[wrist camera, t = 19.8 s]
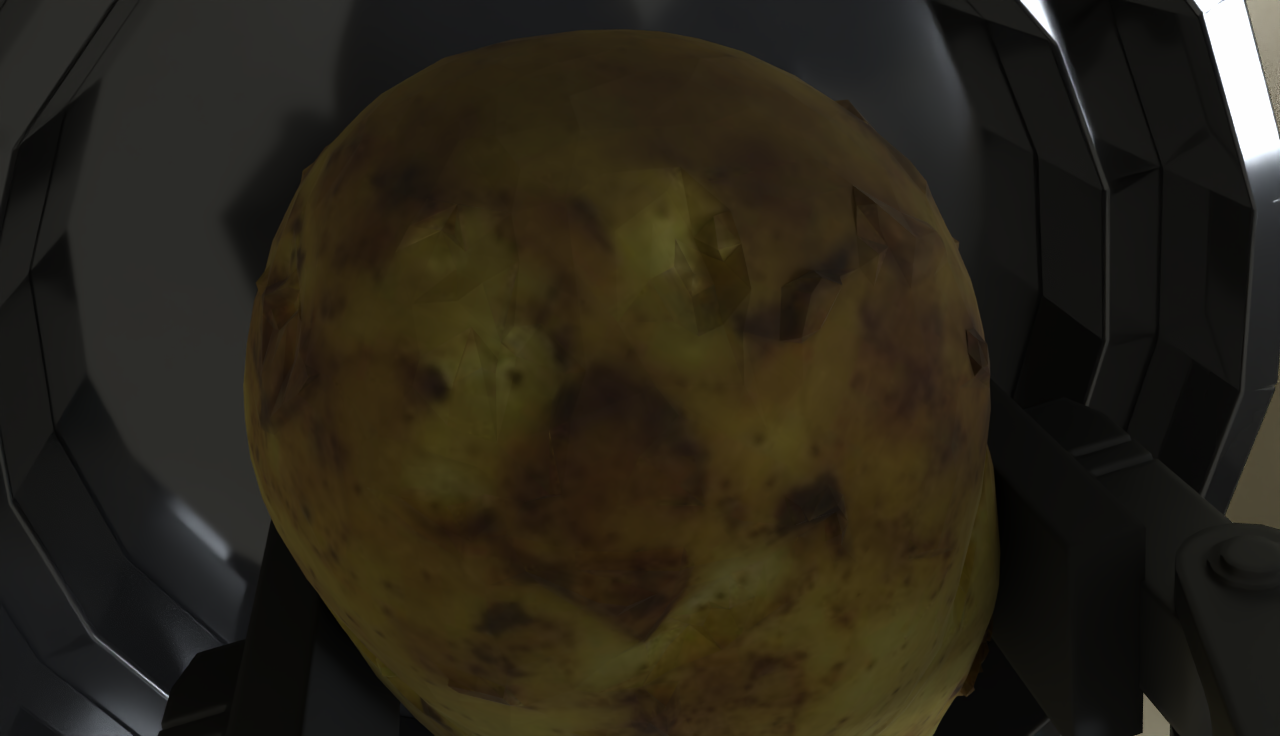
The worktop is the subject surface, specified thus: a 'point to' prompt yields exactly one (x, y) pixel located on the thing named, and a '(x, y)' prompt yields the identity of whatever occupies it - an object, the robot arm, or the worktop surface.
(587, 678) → the potato
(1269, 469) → the worktop surface
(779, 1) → the pan
